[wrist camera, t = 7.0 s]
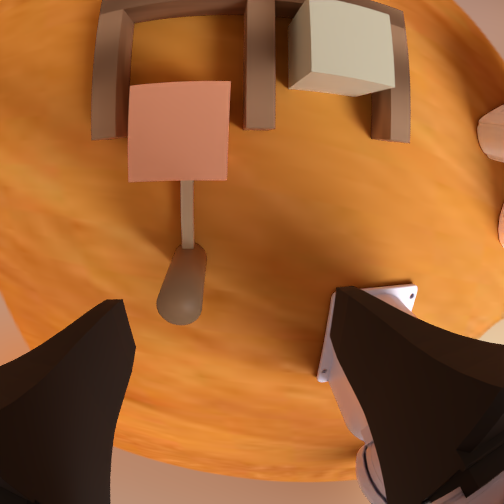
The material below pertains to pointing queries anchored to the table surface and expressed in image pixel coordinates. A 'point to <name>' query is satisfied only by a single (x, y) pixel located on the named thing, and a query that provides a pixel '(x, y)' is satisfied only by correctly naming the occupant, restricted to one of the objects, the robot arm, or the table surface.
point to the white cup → (501, 227)
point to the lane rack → (254, 66)
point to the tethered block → (180, 170)
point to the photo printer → (492, 134)
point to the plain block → (340, 49)
